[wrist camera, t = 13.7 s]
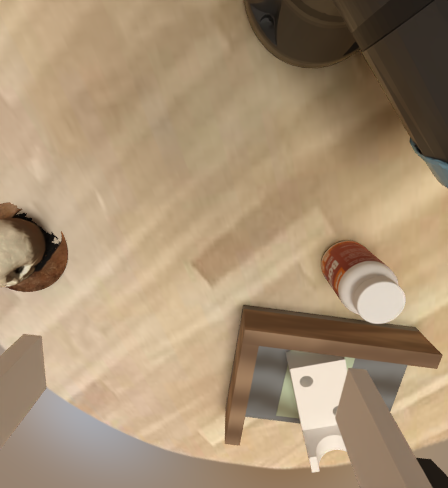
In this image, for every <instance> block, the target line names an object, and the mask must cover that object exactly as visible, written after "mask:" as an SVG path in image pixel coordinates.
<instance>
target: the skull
mask: <svg viewBox="0 0 448 488" xmlns="http://www.w3.org/2000/svg"><path fill="white" fill-rule="evenodd" d="M20 210H22V209H18V207H17V206H16V205H14V204H11V203H3V204H0V287H5V286H6V288H7V287H8V288H9V289H13V290H16V291H22V292H33V291H38V290H42V289H44V288H47V287H49V286H50V285H52V284H53V283H54V282H56V281H57V280H58V279H59V277H60V276H61V275H62V273H63V271H64V269H65V267H66V263H67V260H68V259H67V256H68V250H67V244H66V240H65V238H64V235H63V233H62V231H61V234H62V241H61V243H60V241H59V244H57V243H56V244H54V243H52V241H54V237H56V236H55V235H53V233H52V235H50V234H49V233H48V232H47V233H46V231H44V230H43V229H42V228H41V227H39V226H37V224H36V223H35V222H33V221H32V218H27V217H25V216H26V214H25V213H23V214H19V215H16V214H17V213H18V212H19V211H20ZM56 238H57V237H56ZM57 239H58V238H57Z"/></svg>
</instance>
